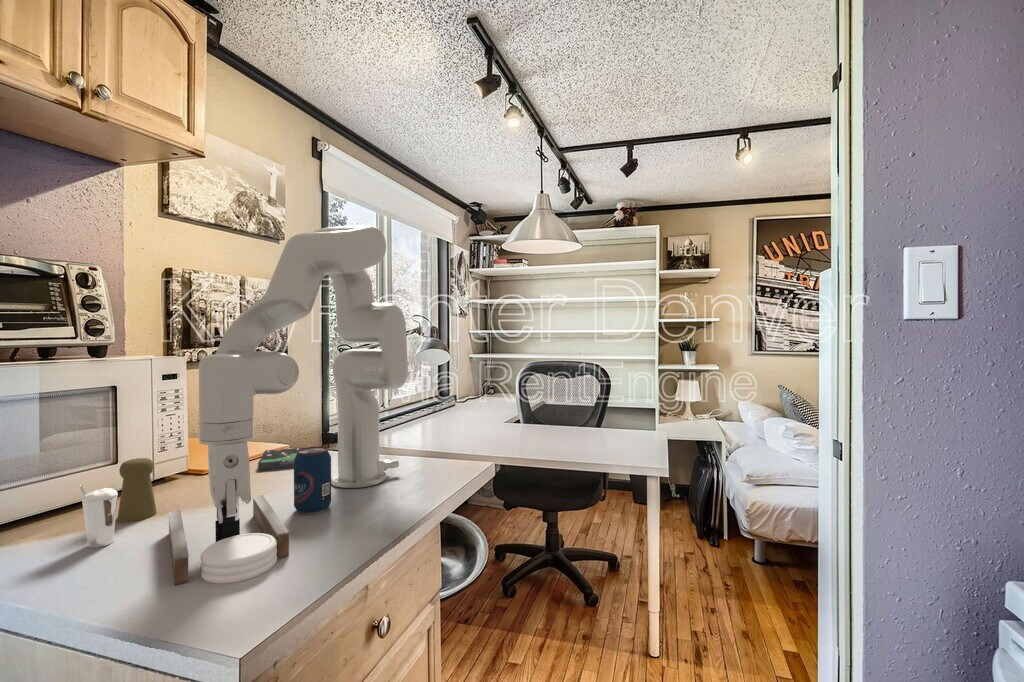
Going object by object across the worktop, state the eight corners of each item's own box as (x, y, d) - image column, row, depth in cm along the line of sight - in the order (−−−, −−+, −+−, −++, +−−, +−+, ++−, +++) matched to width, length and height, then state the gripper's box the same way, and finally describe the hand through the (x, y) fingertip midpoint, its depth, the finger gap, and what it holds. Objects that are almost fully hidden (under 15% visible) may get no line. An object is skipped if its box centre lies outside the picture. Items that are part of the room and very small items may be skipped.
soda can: (285, 512, 94) (285, 452, 94) (312, 501, 100) (312, 444, 100) (313, 517, 91) (312, 455, 91) (338, 505, 98) (338, 447, 98)
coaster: (287, 552, 77) (287, 530, 77) (259, 584, 67) (259, 559, 67) (223, 554, 77) (222, 532, 76) (185, 587, 67) (185, 562, 67)
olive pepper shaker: (134, 523, 89) (134, 464, 89) (108, 520, 90) (108, 462, 90) (164, 511, 95) (164, 456, 95) (139, 509, 96) (139, 454, 96)
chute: (262, 514, 93) (262, 495, 93) (289, 555, 76) (289, 531, 76) (168, 533, 84) (168, 512, 84) (174, 585, 67) (174, 558, 67)
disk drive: (264, 460, 137) (258, 473, 123) (263, 450, 137) (257, 462, 123) (303, 456, 140) (301, 468, 127) (303, 447, 140) (301, 458, 127)
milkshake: (91, 539, 82) (91, 481, 82) (125, 537, 82) (124, 480, 82) (69, 551, 77) (68, 489, 77) (104, 549, 78) (104, 488, 78)
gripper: (261, 435, 73) (262, 555, 73) (246, 421, 85) (247, 524, 85) (203, 442, 68) (203, 569, 69) (195, 426, 80) (196, 535, 81)
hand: (227, 544), depth 77 cm, fingers closed
